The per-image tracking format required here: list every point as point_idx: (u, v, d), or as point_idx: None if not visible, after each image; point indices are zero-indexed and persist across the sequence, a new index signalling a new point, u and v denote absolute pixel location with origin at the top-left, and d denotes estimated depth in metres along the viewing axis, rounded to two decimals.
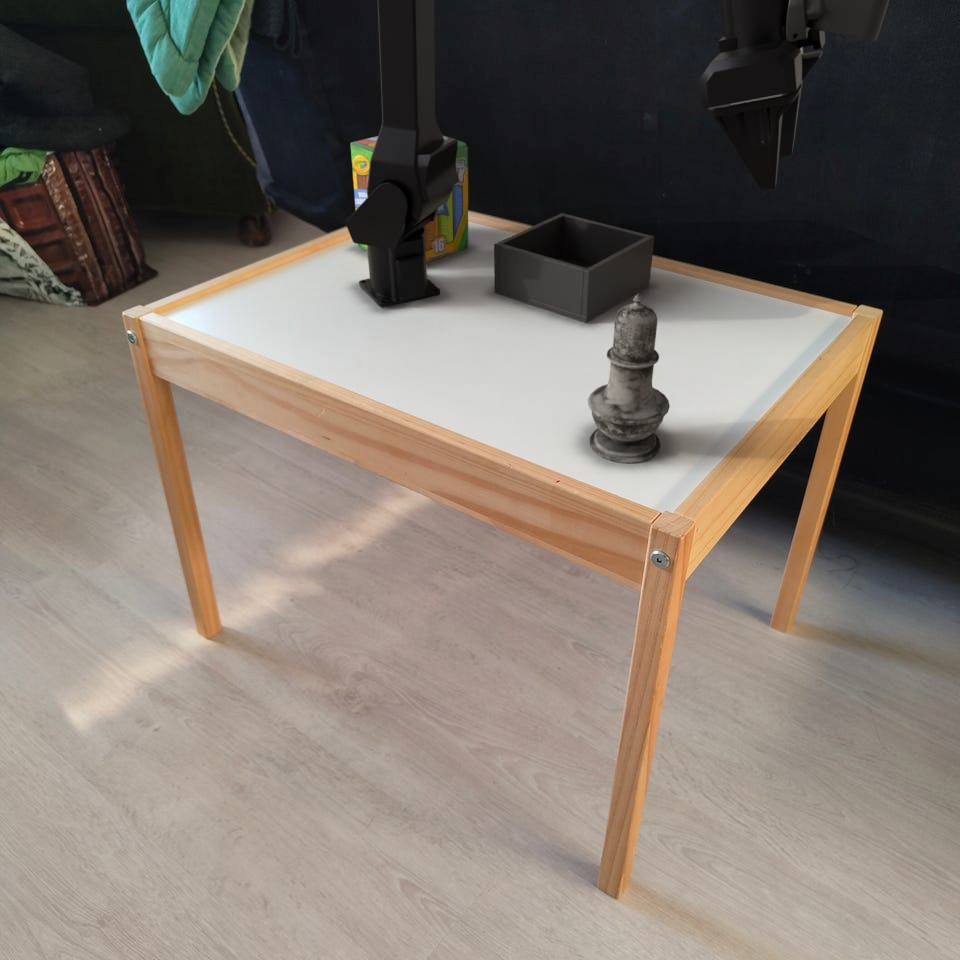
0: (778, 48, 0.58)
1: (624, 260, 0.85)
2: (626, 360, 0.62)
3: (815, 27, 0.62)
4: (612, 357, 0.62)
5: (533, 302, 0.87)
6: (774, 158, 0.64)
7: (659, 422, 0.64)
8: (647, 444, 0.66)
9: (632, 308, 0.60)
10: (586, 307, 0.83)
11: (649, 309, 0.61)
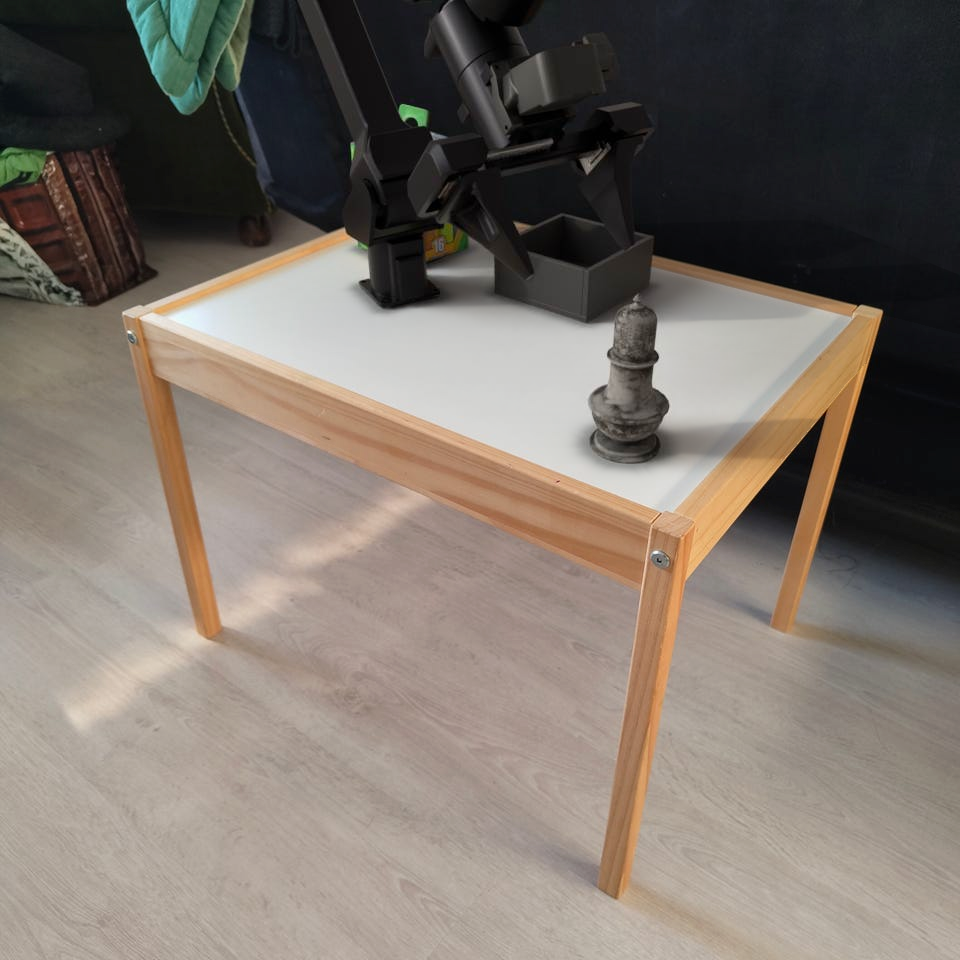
0: (431, 141, 0.59)
1: (624, 260, 0.85)
2: (626, 360, 0.62)
3: (519, 112, 0.60)
4: (612, 357, 0.62)
5: (533, 302, 0.87)
6: (509, 243, 0.61)
7: (659, 422, 0.64)
8: (647, 444, 0.66)
9: (632, 308, 0.60)
10: (586, 307, 0.83)
11: (649, 309, 0.61)
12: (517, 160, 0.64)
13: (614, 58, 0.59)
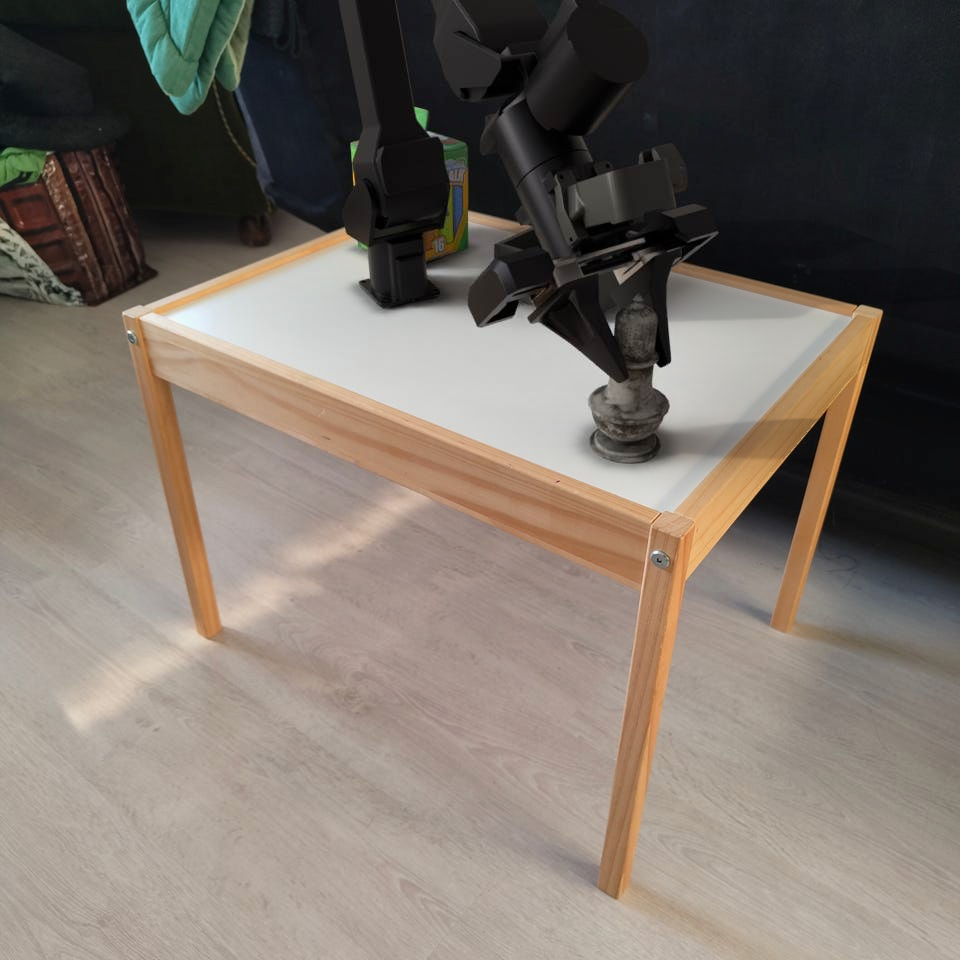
0: (496, 257, 0.57)
1: None
2: (626, 360, 0.62)
3: (585, 225, 0.59)
4: None
5: None
6: (605, 348, 0.60)
7: (659, 422, 0.64)
8: (648, 444, 0.66)
9: (632, 308, 0.60)
10: None
11: (649, 309, 0.61)
12: None
13: (685, 172, 0.57)
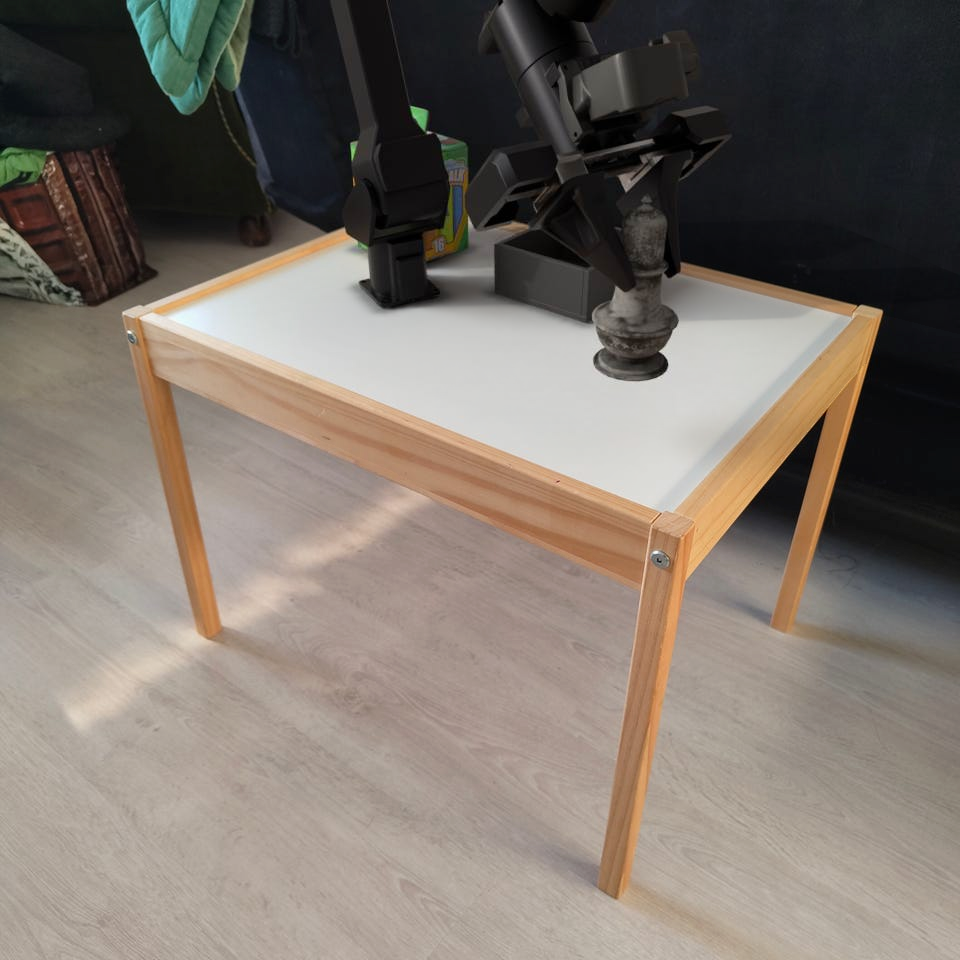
0: (495, 149, 0.53)
1: None
2: (633, 268, 0.58)
3: (591, 118, 0.55)
4: None
5: (533, 302, 0.87)
6: (611, 253, 0.57)
7: (667, 337, 0.60)
8: (655, 363, 0.62)
9: (640, 210, 0.57)
10: (586, 307, 0.83)
11: (658, 211, 0.57)
12: None
13: (698, 59, 0.53)
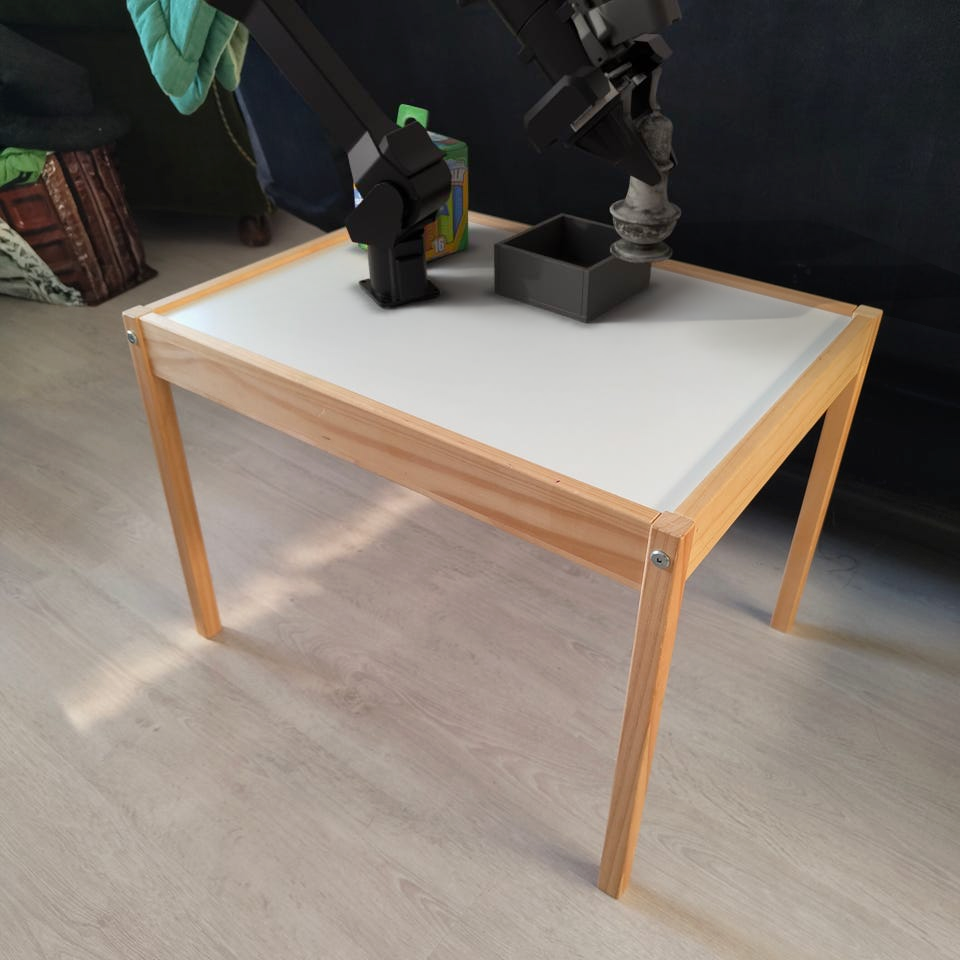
0: (565, 75, 0.63)
1: (624, 260, 0.85)
2: None
3: (613, 44, 0.66)
4: None
5: (533, 302, 0.87)
6: (643, 154, 0.69)
7: (676, 220, 0.74)
8: (663, 245, 0.76)
9: (654, 116, 0.69)
10: (586, 307, 0.83)
11: (664, 116, 0.70)
12: None
13: None
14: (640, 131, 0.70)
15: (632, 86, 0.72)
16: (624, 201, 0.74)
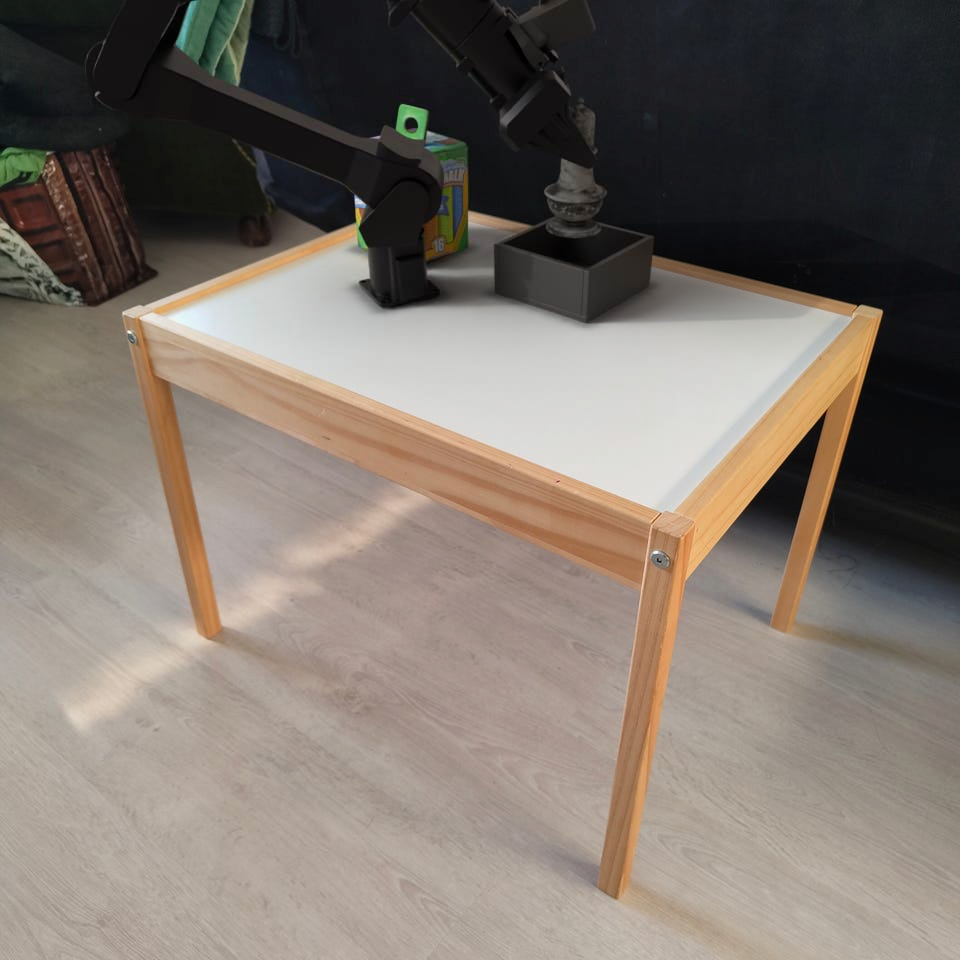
0: (539, 79, 0.71)
1: (624, 260, 0.85)
2: None
3: (549, 49, 0.75)
4: None
5: (533, 302, 0.87)
6: (583, 142, 0.79)
7: None
8: (590, 220, 0.87)
9: (580, 108, 0.80)
10: (586, 307, 0.83)
11: None
12: None
13: None
14: None
15: None
16: (559, 186, 0.83)
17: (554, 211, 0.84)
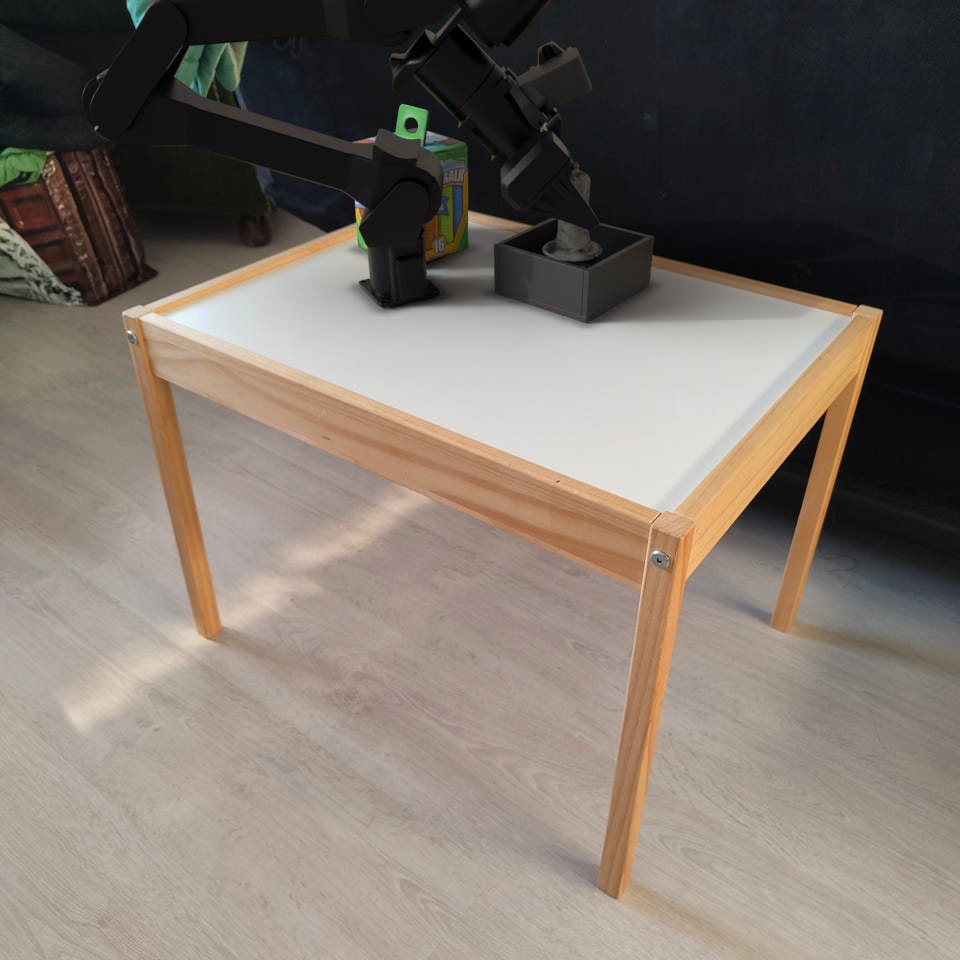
0: (538, 142, 0.73)
1: (624, 260, 0.85)
2: None
3: (548, 109, 0.78)
4: None
5: (533, 302, 0.87)
6: (585, 205, 0.80)
7: None
8: None
9: (576, 173, 0.83)
10: (586, 307, 0.83)
11: (581, 171, 0.84)
12: None
13: None
14: None
15: None
16: (556, 245, 0.87)
17: None
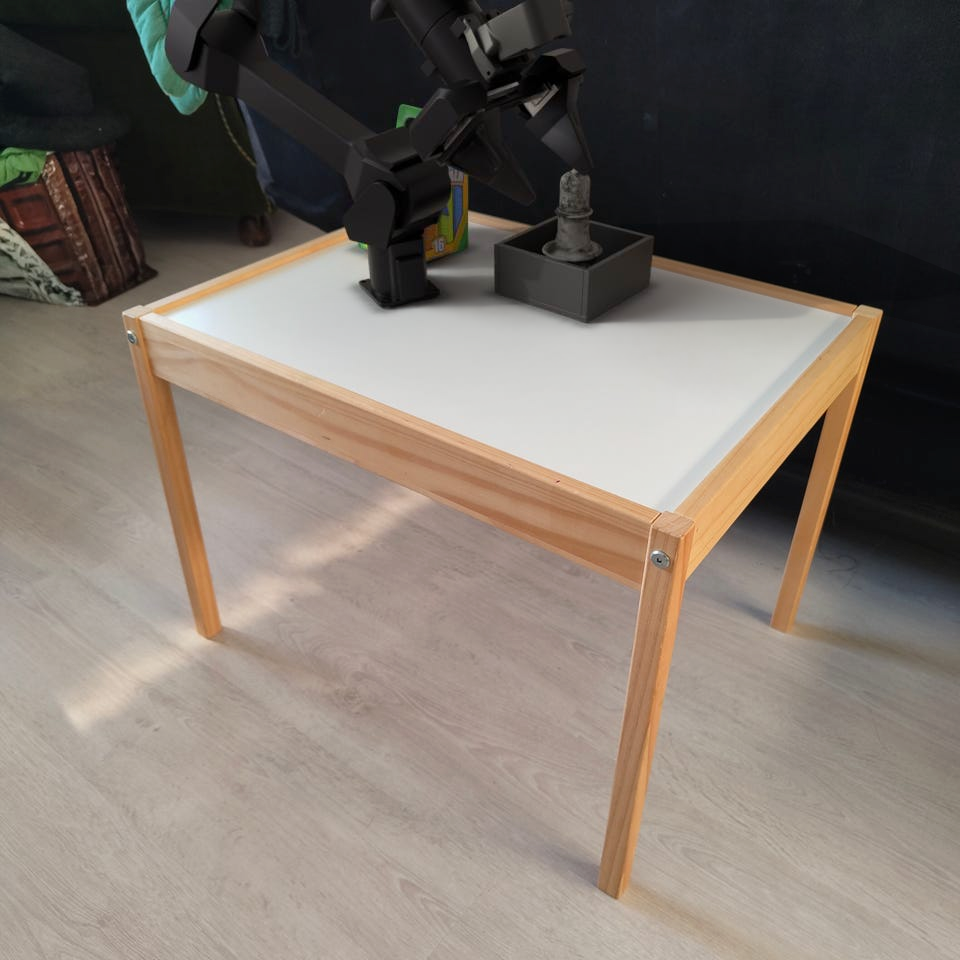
0: (439, 88, 0.66)
1: (624, 260, 0.85)
2: (582, 212, 0.84)
3: (500, 58, 0.69)
4: (570, 214, 0.84)
5: (533, 302, 0.87)
6: (513, 173, 0.69)
7: None
8: None
9: (576, 173, 0.83)
10: (586, 307, 0.83)
11: None
12: (494, 103, 0.72)
13: (572, 5, 0.69)
14: (568, 186, 0.83)
15: (553, 93, 0.76)
16: (556, 245, 0.87)
17: None
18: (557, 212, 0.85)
